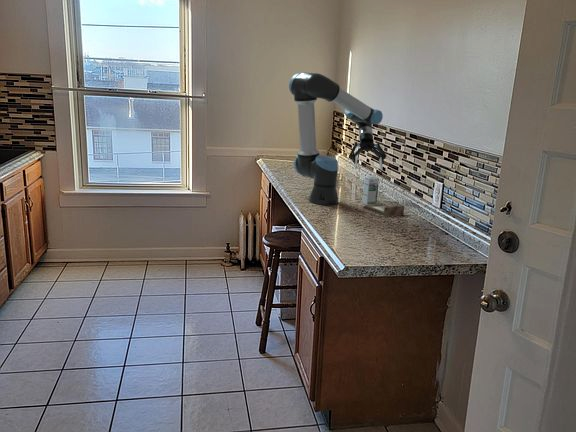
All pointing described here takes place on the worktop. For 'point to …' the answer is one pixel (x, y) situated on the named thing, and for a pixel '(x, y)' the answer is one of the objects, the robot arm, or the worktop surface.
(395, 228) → the worktop surface
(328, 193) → the robot arm
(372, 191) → the syrup box
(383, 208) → the walnut stand board
